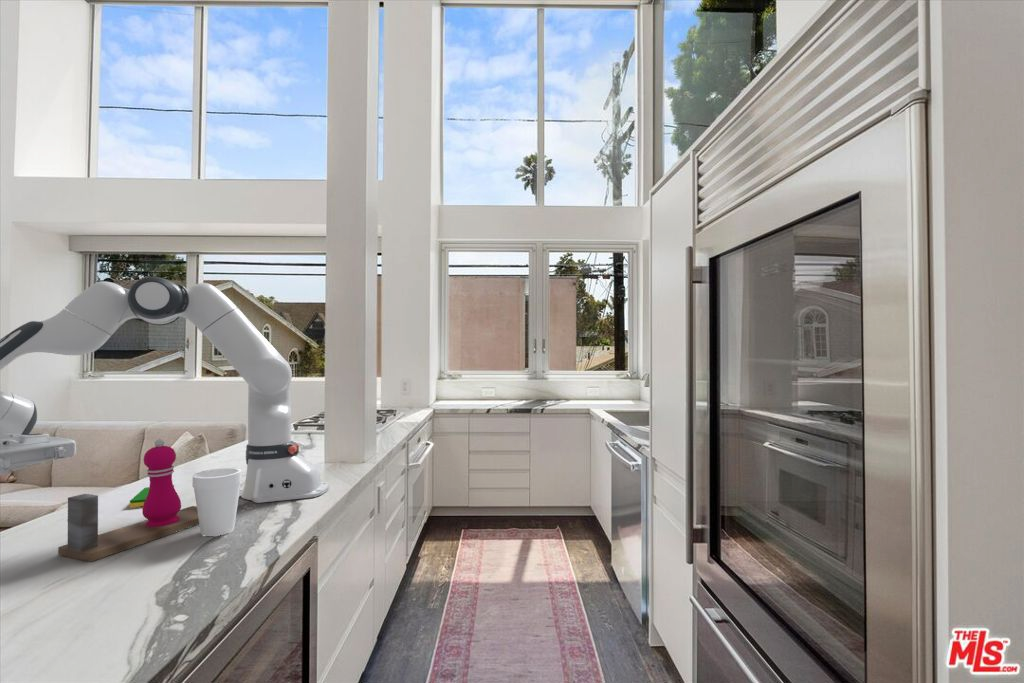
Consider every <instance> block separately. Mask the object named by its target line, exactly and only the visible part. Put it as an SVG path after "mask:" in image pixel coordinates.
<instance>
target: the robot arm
mask: <svg viewBox="0 0 1024 683" xmlns="http://www.w3.org/2000/svg"><path fill="white" fill-rule="evenodd" d="M180 318H184V319H186V320H188V321H190V323H192V324H193V325H194V326H195V327H196V328H197V329H198V330H199V332H201V333H202V334H203V336H204V337H205V338H206V339H207V340H208V341H209V343H211V344H212V346H214V347H215V348H216V350H218V352H219V353H220V354H221V355H222V356H223V357H224V358H225V359H226V360H227V362H228V363H229V364H230V365H231V366H232V368H233V369H234V370H235V371H236V372H237V373H238V374H239V375H240V377H242V379H243V380H244V381H245V382H246V383H247V384H248V392H247V393H248V394H247V395H248V401H247V402H248V406H247V409H248V410H247V444H246V445H245V446H246V449H245V461H246V462H245V463H246V465H247V466H246V475H245V480H244V481H245V482H244V486H243V488H242V493H241V498H242V499H244V500H248V501H253V503H257V504H260V503H270V502H280V501H288V500H289V501H290V500H298V499H308V498H316V497H318V496H321V495H323V494H325V493H326V492H327V491H328V490H329V489H330V488H329V487H330V486H329V483H328V481H321V480H322V479H321V473H320V470H319V467H318V466H317V465H316V464H315V463H312V461H309V460H308V459H306V458H305V457H303V456H302V455H301V454H299V452H300V451H299V450H300V443H299V442H298V443H296V442H295V441H293V440H292V404H291V403H292V400H291V399H292V397H291V396H292V394H291V381H292V378H293V372H292V368H291V365H290V364H289V362H288V361H287V360H286V359H285V358H284V357H283V356H282V355H281V354H280V352H278V350H277V349H276V348H275V347H274V345H272V344H271V343H270V341H268V339H267V338H266V337H265V336H264V335H263V334H262V333H261V332H260V331H259V330H258V329H257V327H256V326H255V325H254V324H253V323H252V322H251V321H250V319H249V318H248V317H247V316H246V315H245V314H244V313H243V312H242V311H241V309H240V308H239V307H238V306H237V305H236V304H235V303H234V302H233V301H232V300H231V299H230V298H229V297H228V296H227V295H226V294H224V293H223V292H222V291H221V290H220V289H219V288H217V287H216V286H214V285H213V284H211V283H208V282H200V283H196V284H193V285H191V286H189V287H187V288H186V287H185V286H184V285H182V284H179V283H176V282H173V281H171V280H170V279H167V278H164V277H163V278H162V277H159V276H146V277H142V278H140V279H139V280H136V281H135V282H133V284H132V285H131V286H130V287H129V288H125V287H123V286H121V285H119V284H117V283H115V282H111V281H107V280H106V281H97V282H95V283H93V284H91V285H90V286H89V287H87V288H86V289H84V290H83V291H82V292H80V293H78V295H77V296H76V297H74V298H73V299H72V300H71V301H70V302H68V304H66V306H64V308H62V310H61V311H59V312H58V313H56V314H55V315H53V316H52V317H50V318H47V319H45V320H41V321H39V320H38V321H36V320H31V321H28V322H26V323H23V324H22V325H20V326H18V327H17V328H15V329H13V331H11V332H9V333H8V334H6V335H4V336H3V337H2V338H0V371H2V369H4V368H5V367H6V366H8V365H9V364H10V363H12V362H13V361H15V360H16V359H17V358H19V357H22V356H25V355H26V354H32V353H48V354H56V355H64V356H82V355H88V354H91V353H93V352H97V350H99V349H100V348H101V347H102V346H103V345H105V343H106V342H107V341H108V340H109V339H110V338H111V336H113V335H114V333H115V332H116V331H117V330H118V329H119V328H120V327H121V326H122V325H123V324H124V323H126V322H127V321H129V320H135V321H138V322H139V321H140V322H143V323H146V324H150V325H153V326H165V325H170V324H173V323H175V322H176V321H177V320H178V319H180ZM37 421H38V411H37V407H36V404H35V402H34V401H33V400H30V399H28V398H26V397H23V396H20V395H19V394H18V395H17V394H15V393H13V392H9V391H6V390H4V389H1V388H0V476H4V475H7V474H9V473H11V472H15V471H17V470H20V469H24V468H26V467H30V466H35V465H38V464H39V465H40V464H43V463H47V462H49V461H57V460H62V459H64V460H65V459H71V458H74V457H75V456H76V453H77V443H76V441H75V440H74V439H71V438H65V437H61V436H60V437H57V436H50V434H49V433H31V432H32V430H33V429H34V427H35V425H36V423H37Z"/></svg>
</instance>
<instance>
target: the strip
mask: <svg viewBox="0 0 1024 683" xmlns="http://www.w3.org/2000/svg"><path fill="white" fill-rule="evenodd" d="M176 515H177V516H179V521H177V522H175V523H173V524H169V525H165V526H159V527H148V526H146V522H147V521H148V519H146V520H141V521H139V522H135V523H132V524H129V525H126V526H123V527H119V528H116V529H113V530H108V531H106V532H103V533H100V534H99V495H98V494H89V493H81V494H78V495H73V496H70V497H67V544H65V545H64V544H63V545H61V546H58V548H57V555H58V556H61V557H62V556H63V557H67V558H72V559H75V560H80V561H84V562H88V563H89V562H90V563H91V562H93V561H97V560H100V559H102V558H106V557H108V555H109V556H111V555H113V553H114V554H117V553H120V552H122V550H123V551H125V549H126V550H129V549H131V548H130V547H132V548H133V546H135V547H137V546H140V545H143V544H146V543H149V542H151V541H155V540H157V538H158V539H161V538H163V537H166V536H168V534H169V535H172V534H174V532H175V533H177V532H176V531H178V532H180V531H179V530H181V531H183V530H182V529H184V530H186V529H185V528H187V529H189V528H191V527H190V526H192V527H194V526H193V525H195V526H197V524H198V525H199V518H198V512H197V505H192V506H188V507H185V508H181V509H180V510H179V512H178V513H177V514H176ZM188 527H189V528H188ZM171 533H172V534H171ZM160 537H161V538H160ZM148 541H149V542H148ZM142 543H143V544H142ZM139 544H140V545H139ZM136 545H137V546H136ZM128 548H129V549H128Z"/></svg>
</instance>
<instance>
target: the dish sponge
mask: <svg viewBox="0 0 1024 683" xmlns="http://www.w3.org/2000/svg"><path fill="white" fill-rule="evenodd" d="M173 486H174V487H175V485H174V484H173ZM149 488H150V486H149V487H144V488H143V489H141V490H140V492H138V493H137V494H136V495H135V496H134V497H133V498H131V499H130V500H129V509H134V508H133V507H139V508H141V507H140V506H143V505H144V502H145V499H146V497H147V495H148V492H149Z"/></svg>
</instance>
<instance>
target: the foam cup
mask: <svg viewBox="0 0 1024 683" xmlns="http://www.w3.org/2000/svg"><path fill="white" fill-rule="evenodd" d="M242 481H243V471H242V469H241V468H237V467H222V468H213V469H208V470H202V471H199V472H195V473H194V474H192V487H193V490H194V498H195V504H196V505H195V506H197V512H198V518H199V524H198V525H199V530H200V535H201V534H202V535H205V536H214V537H219V536H220V535H221V536H224V535H228V534H230V533H232V532H233V531H234V530H235V526H236V525H235V524H236V518H237V510H238V504H239V497H240V490H241V482H242ZM227 533H228V534H227ZM202 535H201V536H202ZM205 536H204V537H205ZM221 536H220V537H221Z"/></svg>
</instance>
